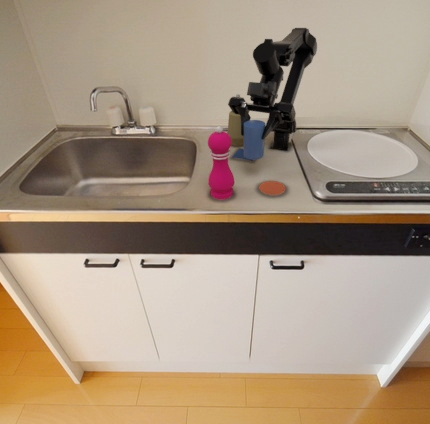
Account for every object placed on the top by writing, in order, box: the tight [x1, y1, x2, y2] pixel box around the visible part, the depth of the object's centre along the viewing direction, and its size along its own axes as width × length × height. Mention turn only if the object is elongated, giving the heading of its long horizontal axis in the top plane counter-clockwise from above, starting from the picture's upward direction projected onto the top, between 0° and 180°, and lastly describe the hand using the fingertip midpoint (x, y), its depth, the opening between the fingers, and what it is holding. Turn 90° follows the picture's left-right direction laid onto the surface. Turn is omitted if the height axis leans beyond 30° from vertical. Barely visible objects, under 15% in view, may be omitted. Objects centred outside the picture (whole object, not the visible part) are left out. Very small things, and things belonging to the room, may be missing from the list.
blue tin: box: [243, 119, 266, 161], centre depth 81 cm, size 6×6×10 cm
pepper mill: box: [207, 125, 235, 200], centre depth 75 cm, size 7×7×20 cm
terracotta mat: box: [258, 180, 286, 196], centre depth 82 cm, size 8×8×1 cm
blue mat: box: [231, 148, 253, 162], centre depth 100 cm, size 8×8×1 cm
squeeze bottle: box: [227, 93, 244, 147], centre depth 104 cm, size 8×8×18 cm
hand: (252, 137), depth 79 cm, fingers closed on blue tin, 6 cm apart
